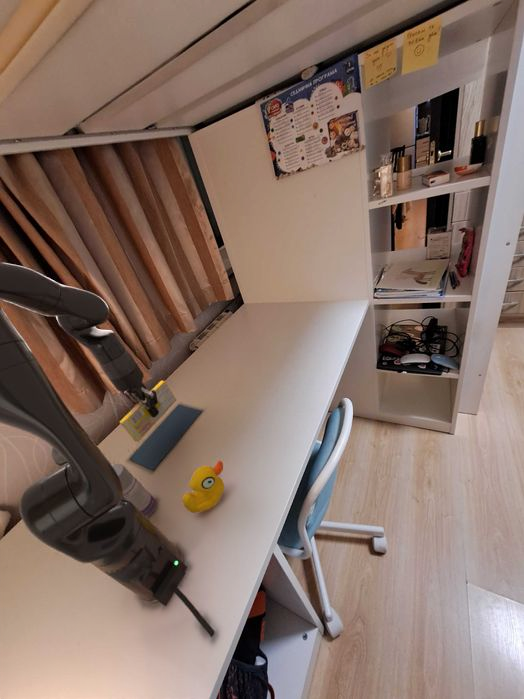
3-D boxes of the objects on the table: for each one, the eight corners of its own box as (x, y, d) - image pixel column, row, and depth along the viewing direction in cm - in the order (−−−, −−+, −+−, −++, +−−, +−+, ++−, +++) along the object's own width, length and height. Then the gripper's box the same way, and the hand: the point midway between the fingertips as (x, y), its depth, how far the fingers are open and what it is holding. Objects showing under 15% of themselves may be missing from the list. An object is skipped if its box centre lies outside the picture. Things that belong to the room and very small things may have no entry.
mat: (202, 411, 93) (202, 410, 92) (153, 470, 78) (153, 470, 78) (178, 405, 98) (178, 404, 98) (129, 459, 84) (128, 458, 84)
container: (135, 508, 70) (100, 473, 62) (152, 494, 72) (120, 458, 64) (141, 522, 67) (105, 487, 59) (159, 507, 69) (126, 471, 61)
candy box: (172, 398, 91) (161, 379, 86) (177, 400, 90) (165, 380, 85) (133, 440, 80) (118, 421, 75) (138, 442, 79) (123, 423, 74)
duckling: (228, 474, 71) (214, 449, 66) (239, 490, 67) (224, 464, 61) (187, 506, 67) (168, 483, 62) (196, 525, 63) (177, 501, 57)
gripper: (94, 374, 75) (128, 419, 85) (126, 382, 68) (159, 429, 77) (117, 357, 80) (147, 400, 90) (149, 362, 73) (178, 409, 82)
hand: (153, 414), depth 83 cm, fingers closed on candy box, 2 cm apart
